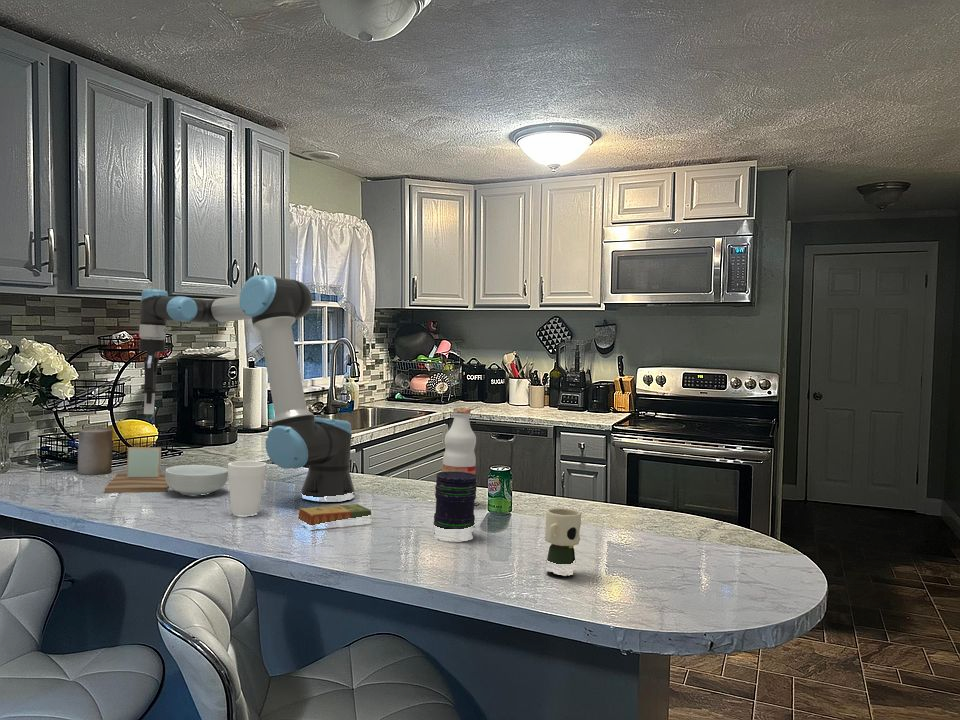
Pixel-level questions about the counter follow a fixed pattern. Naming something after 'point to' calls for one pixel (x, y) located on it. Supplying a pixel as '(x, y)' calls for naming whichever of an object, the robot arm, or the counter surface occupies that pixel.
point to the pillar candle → (95, 451)
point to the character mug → (562, 534)
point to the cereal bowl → (196, 478)
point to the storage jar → (455, 500)
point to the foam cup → (246, 486)
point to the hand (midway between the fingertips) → (148, 413)
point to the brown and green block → (332, 513)
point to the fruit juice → (460, 444)
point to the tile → (143, 462)
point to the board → (137, 484)
